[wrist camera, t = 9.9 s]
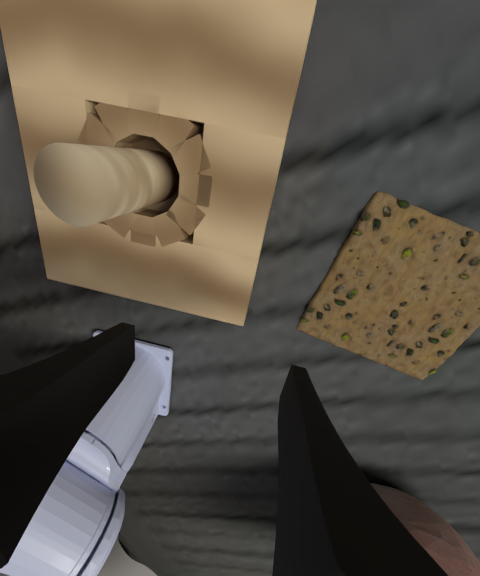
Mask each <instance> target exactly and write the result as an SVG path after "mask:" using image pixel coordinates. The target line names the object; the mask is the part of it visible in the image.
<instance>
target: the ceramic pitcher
mask: <svg viewBox="0 0 480 576" xmlns="http://www.w3.org/2000/svg"><path fill="white" fill-rule="evenodd" d="M370 484H371V485H372V486H373V487H374V489H375V490H376V491H377V493H378V494H379V495H380V497H381V498H382V499H383V501H384V502H385V503H386V505H387V506H388V507H389V508H390V510H391V511H392V512H393V513H394V514H395V516H396V517H397V518H398V519H399V520H400V522H401V523H402V524H403V525H404V526H405V528H406V529H407V530H408V531H409V532H410V534H411V535H412V536H413V537H414V538H415V539H416V540H417V541H418V543H419V544H420V545H421V546H422V547H423V548H424V549H425V550H426V551H427V552H428V554H429V555H430V556H431V557H432V558H433V559H434V560H435V561H436V562H437V563H438V565H439V566H440V567H441V568H442V569H443V570H444V571H445V572H446V573H447V574H448V576H480V562H479V561H478V559H477V558H476V556H475V555H474V554H473V552H472V551H471V549H470V548H469V547H468V545H467V544H466V543H465V542H464V540H463V539H462V538H461V537H460V536H459V534H458V533H457V532H456V531H455V530H454V529H453V528H452V527H451V526H450V525H449V524H448V523H447V522H446V521H445V520H444V519H443V518H441V517H440V516H439V515H438V514H437V513H436V512H434V511H433V510H432V509H431V508H429V507H428V506H427V505H425V504H424V503H422V502H420V501H419V500H417V499H416V498H414V497H413V496H411V495H409V494H407V493H405V492H402V491H400V490H398V489H395V488H392V487H388V486H383V485H379V484H374V483H370Z"/></svg>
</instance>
